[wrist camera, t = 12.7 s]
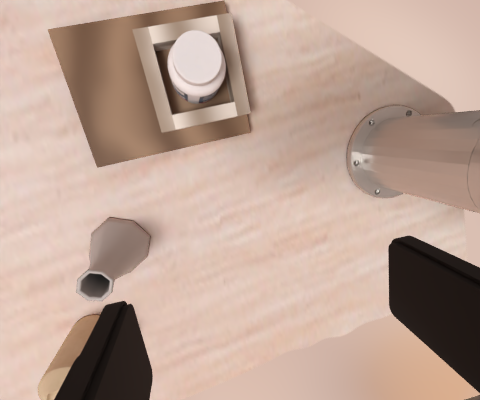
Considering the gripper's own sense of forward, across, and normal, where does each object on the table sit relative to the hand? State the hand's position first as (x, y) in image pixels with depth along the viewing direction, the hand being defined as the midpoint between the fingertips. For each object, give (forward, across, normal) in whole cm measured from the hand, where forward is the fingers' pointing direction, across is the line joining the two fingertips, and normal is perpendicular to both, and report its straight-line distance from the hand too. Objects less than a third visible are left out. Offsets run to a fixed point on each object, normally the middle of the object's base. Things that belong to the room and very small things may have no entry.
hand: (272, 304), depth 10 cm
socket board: (+26, +4, -12) cm, 29 cm away
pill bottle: (+25, 0, -12) cm, 28 cm away
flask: (+26, +13, +6) cm, 30 cm away
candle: (+26, +20, +17) cm, 37 cm away
